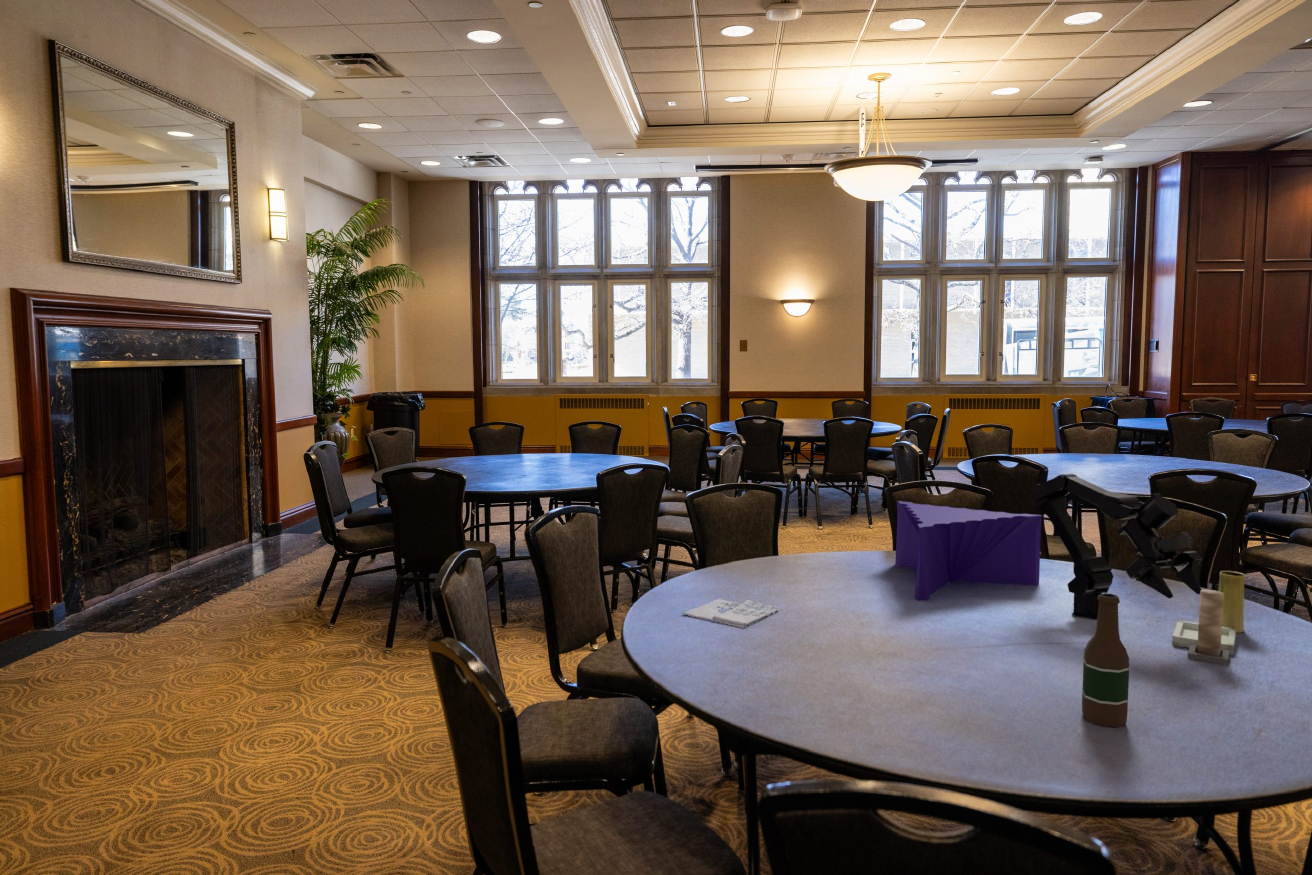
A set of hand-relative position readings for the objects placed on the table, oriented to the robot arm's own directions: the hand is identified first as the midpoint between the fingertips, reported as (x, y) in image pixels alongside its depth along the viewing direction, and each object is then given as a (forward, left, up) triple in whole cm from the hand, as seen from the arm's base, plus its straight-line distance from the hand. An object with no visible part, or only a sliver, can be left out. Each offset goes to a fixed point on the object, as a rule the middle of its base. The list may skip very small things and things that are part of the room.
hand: (1185, 595), depth 198 cm
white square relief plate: (-102, -35, -13) cm, 109 cm away
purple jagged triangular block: (-63, +24, -13) cm, 69 cm away
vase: (+8, +23, -13) cm, 27 cm away
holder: (+5, -3, -13) cm, 14 cm away
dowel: (+5, -3, -13) cm, 14 cm away
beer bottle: (-9, -54, -13) cm, 57 cm away
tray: (+4, +9, -13) cm, 16 cm away
